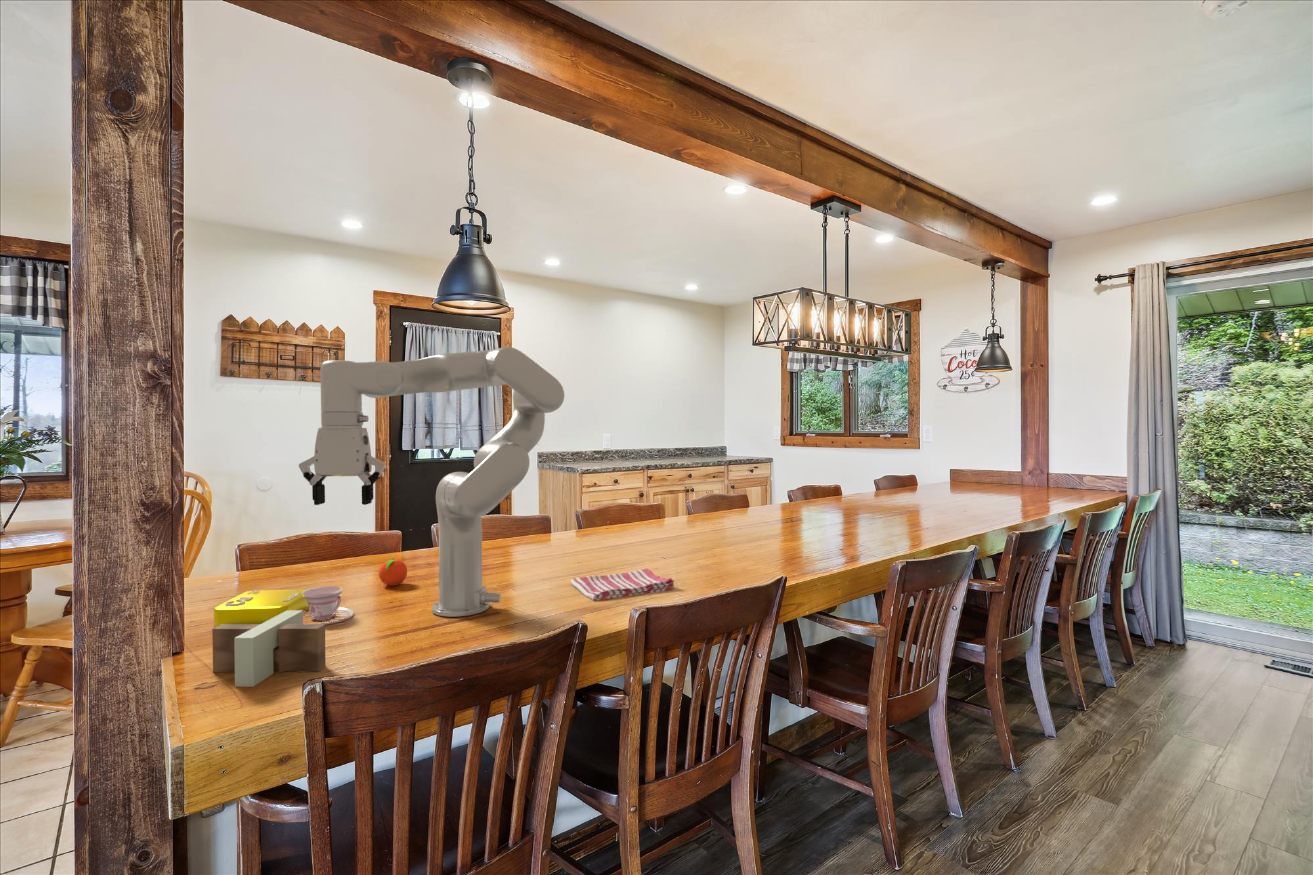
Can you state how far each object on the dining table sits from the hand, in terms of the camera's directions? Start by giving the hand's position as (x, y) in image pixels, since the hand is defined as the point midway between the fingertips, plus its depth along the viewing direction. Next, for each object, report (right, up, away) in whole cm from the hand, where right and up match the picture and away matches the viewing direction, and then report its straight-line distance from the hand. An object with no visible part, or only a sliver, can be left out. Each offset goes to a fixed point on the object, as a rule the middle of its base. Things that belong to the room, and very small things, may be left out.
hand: (343, 504), depth 131 cm
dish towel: (+55, -26, +35) cm, 71 cm away
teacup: (-9, -26, +9) cm, 29 cm away
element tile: (-22, -27, +10) cm, 36 cm away
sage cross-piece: (-3, -27, -20) cm, 33 cm away
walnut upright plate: (-3, -27, -20) cm, 34 cm away
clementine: (-5, -26, +36) cm, 44 cm away
